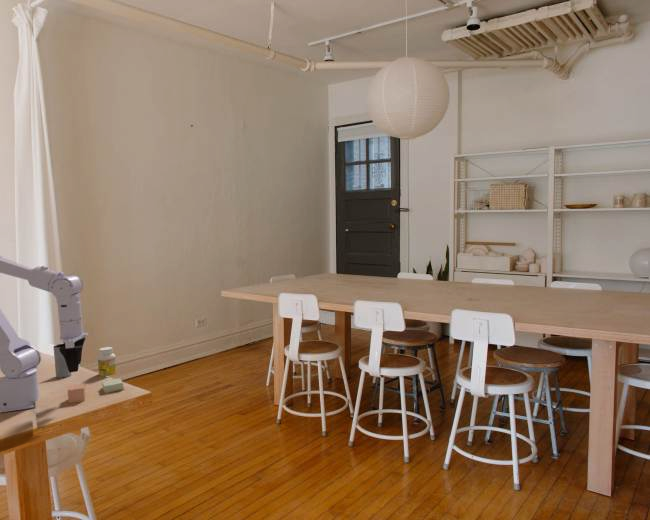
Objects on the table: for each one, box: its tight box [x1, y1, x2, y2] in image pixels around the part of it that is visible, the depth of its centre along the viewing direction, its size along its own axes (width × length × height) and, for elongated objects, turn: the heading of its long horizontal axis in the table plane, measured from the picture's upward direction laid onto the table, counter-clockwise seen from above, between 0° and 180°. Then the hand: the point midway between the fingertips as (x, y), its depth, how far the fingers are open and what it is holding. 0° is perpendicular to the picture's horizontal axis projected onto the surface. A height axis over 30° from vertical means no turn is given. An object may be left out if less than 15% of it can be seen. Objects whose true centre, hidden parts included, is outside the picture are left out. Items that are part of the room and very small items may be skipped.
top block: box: [101, 378, 124, 394], centre depth 156 cm, size 5×5×2 cm
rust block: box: [67, 383, 87, 404], centre depth 148 cm, size 4×4×5 cm
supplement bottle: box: [97, 346, 118, 377], centre depth 172 cm, size 5×5×10 cm
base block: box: [100, 386, 126, 395], centre depth 156 cm, size 6×6×2 cm
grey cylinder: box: [53, 343, 72, 379], centre depth 175 cm, size 4×4×10 cm
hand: (75, 367), depth 147 cm, fingers open, 7 cm apart
